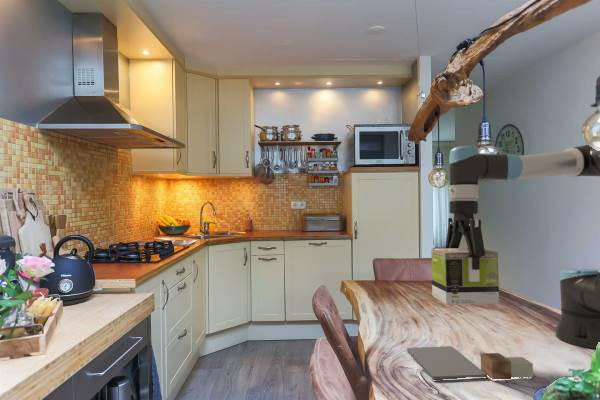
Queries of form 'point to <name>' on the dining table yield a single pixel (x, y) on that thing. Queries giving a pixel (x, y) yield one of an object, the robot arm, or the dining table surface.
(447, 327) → the dining table surface
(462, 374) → the block
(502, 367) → the walnut cube
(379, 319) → the dining table surface
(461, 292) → the tea box
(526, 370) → the sage painted block
